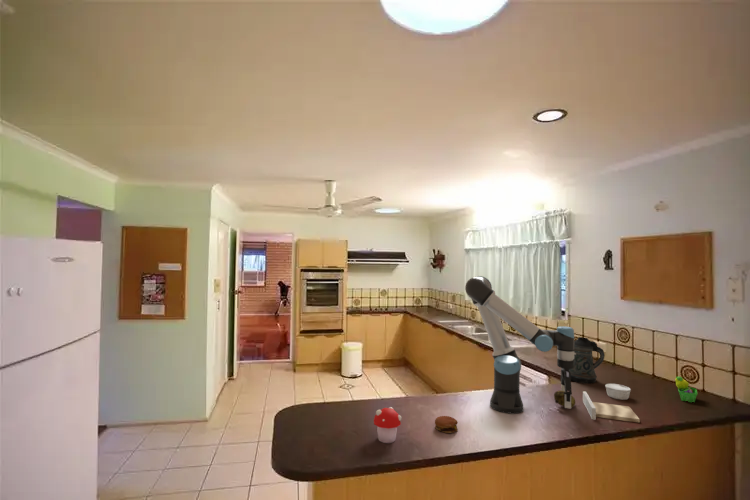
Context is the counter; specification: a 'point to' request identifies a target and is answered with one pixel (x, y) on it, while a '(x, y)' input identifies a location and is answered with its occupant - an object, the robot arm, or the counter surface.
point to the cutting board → (615, 412)
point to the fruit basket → (685, 390)
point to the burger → (446, 424)
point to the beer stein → (585, 361)
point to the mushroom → (387, 424)
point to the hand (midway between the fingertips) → (566, 403)
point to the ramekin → (618, 391)
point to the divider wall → (589, 405)
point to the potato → (562, 398)
